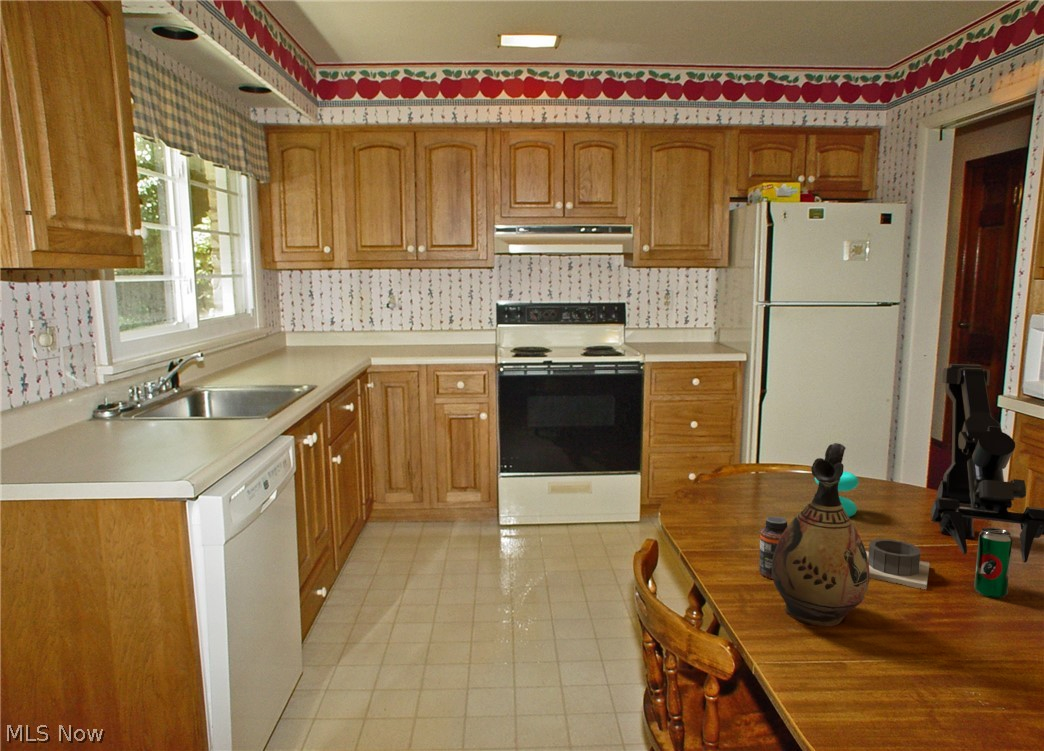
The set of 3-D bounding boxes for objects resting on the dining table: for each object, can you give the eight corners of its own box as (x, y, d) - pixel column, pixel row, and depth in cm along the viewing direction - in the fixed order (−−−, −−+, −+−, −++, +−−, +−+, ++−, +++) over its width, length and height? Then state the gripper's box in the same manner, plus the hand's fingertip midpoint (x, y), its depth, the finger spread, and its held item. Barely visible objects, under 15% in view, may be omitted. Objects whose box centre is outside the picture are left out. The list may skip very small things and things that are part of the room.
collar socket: (863, 554, 142) (864, 532, 142) (929, 567, 136) (931, 543, 135) (855, 575, 132) (857, 550, 132) (926, 589, 126) (928, 564, 125)
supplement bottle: (790, 570, 135) (792, 516, 133) (791, 582, 129) (794, 526, 128) (758, 566, 137) (760, 513, 135) (758, 578, 131) (761, 522, 130)
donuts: (811, 475, 166) (818, 466, 174) (809, 514, 167) (816, 503, 176) (856, 481, 161) (861, 471, 169) (853, 521, 162) (858, 510, 170)
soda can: (1012, 600, 121) (1018, 537, 120) (981, 598, 122) (987, 535, 121) (998, 588, 126) (1004, 527, 125) (969, 586, 127) (974, 525, 126)
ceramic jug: (861, 646, 106) (874, 463, 102) (761, 621, 114) (768, 450, 110) (871, 603, 121) (882, 440, 117) (781, 583, 129) (788, 431, 125)
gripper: (938, 456, 129) (943, 530, 121) (1057, 466, 122) (1072, 546, 113) (928, 485, 137) (932, 556, 129) (1040, 496, 130) (1052, 572, 121)
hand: (994, 557), depth 123 cm, fingers open, 9 cm apart
